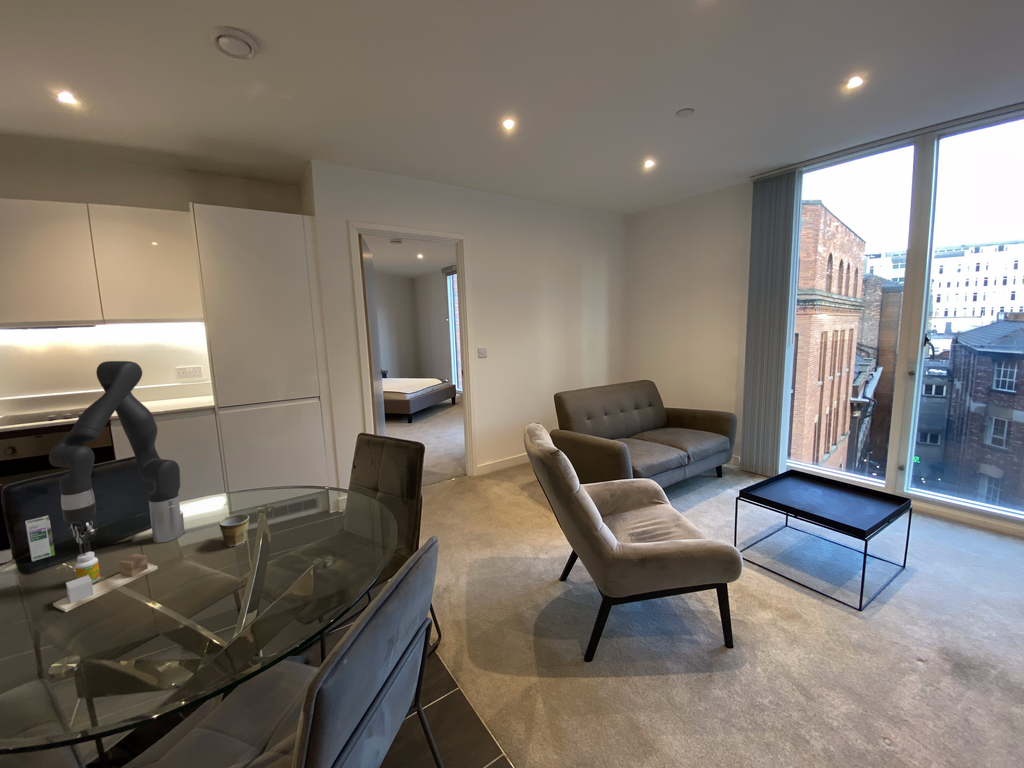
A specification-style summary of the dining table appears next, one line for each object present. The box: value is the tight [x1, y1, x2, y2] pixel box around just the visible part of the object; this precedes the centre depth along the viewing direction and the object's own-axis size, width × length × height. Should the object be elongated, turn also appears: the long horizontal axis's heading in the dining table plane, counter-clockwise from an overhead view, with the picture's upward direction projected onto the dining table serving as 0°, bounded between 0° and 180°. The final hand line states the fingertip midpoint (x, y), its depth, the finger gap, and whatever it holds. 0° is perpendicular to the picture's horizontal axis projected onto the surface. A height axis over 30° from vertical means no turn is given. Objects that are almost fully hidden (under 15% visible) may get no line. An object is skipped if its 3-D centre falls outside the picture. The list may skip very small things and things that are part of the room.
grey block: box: [65, 575, 94, 603], centre depth 128 cm, size 5×5×5 cm
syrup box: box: [24, 515, 56, 562], centre depth 150 cm, size 6×6×14 cm
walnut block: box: [118, 553, 148, 577], centre depth 141 cm, size 5×5×5 cm
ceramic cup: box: [218, 513, 250, 548], centre depth 163 cm, size 13×10×10 cm
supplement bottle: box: [74, 551, 101, 584], centre depth 136 cm, size 5×5×10 cm
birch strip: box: [52, 562, 158, 613], centre depth 135 cm, size 24×7×1 cm, turn 160°
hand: (85, 552), depth 135 cm, fingers closed
